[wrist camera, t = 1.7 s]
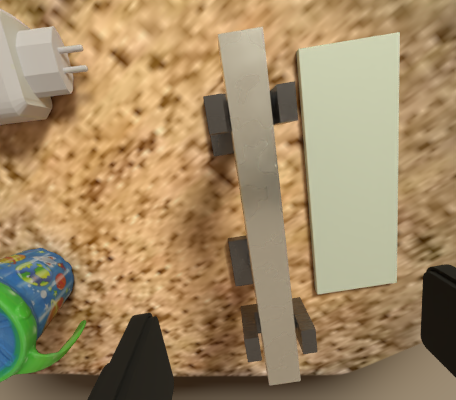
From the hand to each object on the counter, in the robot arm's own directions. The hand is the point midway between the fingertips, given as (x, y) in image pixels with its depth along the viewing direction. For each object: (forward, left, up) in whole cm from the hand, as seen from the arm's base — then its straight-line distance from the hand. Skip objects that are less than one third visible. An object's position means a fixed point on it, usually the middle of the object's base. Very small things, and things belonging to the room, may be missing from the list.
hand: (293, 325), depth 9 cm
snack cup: (+26, +6, -21) cm, 34 cm away
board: (-12, 0, -21) cm, 24 cm away
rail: (0, 0, -10) cm, 10 cm away
